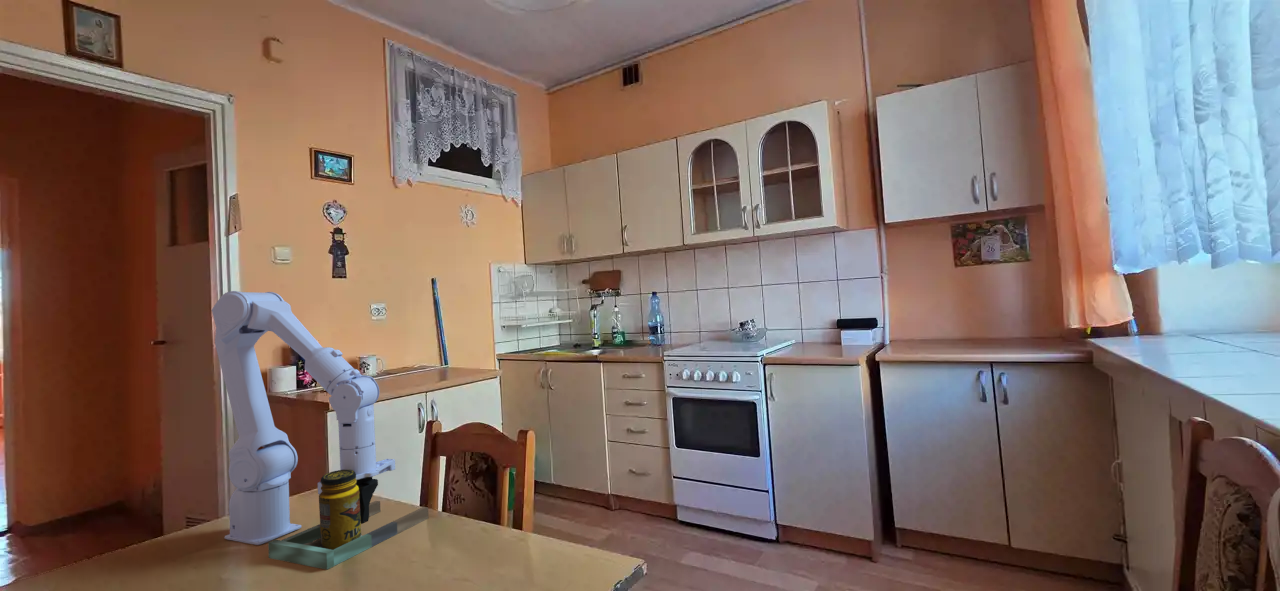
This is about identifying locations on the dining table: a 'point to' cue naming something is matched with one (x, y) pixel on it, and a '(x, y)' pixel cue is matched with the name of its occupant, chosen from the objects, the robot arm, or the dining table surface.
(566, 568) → the dining table surface
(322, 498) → the condiment
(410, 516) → the u-shaped frame
